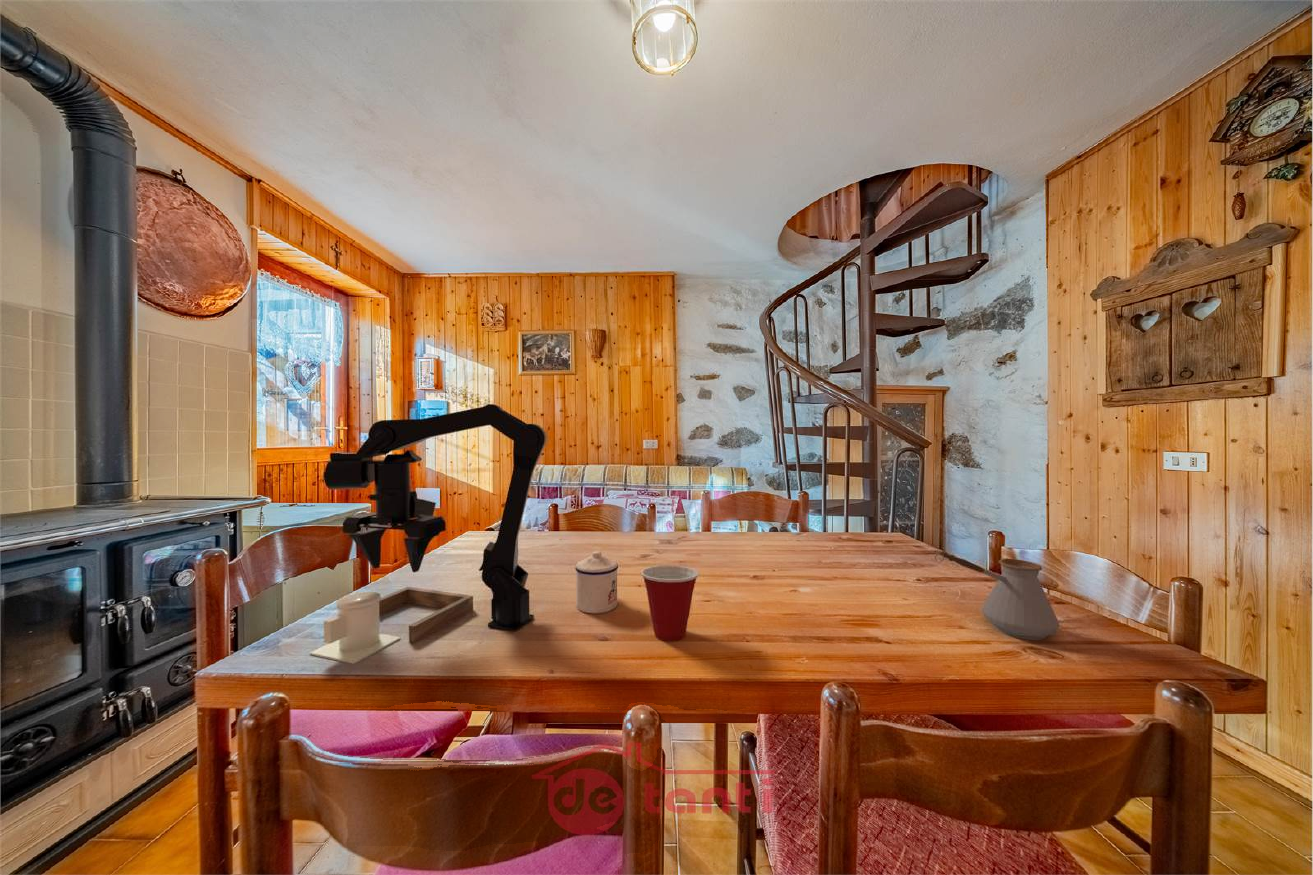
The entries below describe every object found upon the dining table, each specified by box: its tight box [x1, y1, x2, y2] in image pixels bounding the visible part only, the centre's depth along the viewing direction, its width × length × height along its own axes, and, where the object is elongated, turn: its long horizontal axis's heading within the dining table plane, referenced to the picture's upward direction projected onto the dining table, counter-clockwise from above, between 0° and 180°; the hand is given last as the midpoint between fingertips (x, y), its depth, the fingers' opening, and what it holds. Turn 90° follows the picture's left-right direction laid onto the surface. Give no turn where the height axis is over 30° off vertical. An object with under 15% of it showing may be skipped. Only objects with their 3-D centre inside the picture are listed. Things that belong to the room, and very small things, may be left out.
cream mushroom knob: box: [323, 591, 381, 652], centre depth 79 cm, size 9×6×8 cm
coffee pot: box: [934, 551, 1060, 641], centre depth 86 cm, size 21×12×15 cm, turn 89°
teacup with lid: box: [575, 550, 619, 614], centre depth 99 cm, size 12×9×12 cm
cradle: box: [379, 586, 474, 644], centre depth 90 cm, size 17×15×3 cm
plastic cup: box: [640, 565, 700, 642], centre depth 84 cm, size 11×11×12 cm
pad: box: [309, 633, 402, 665], centre depth 79 cm, size 10×9×1 cm
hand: (396, 569), depth 85 cm, fingers open, 9 cm apart
